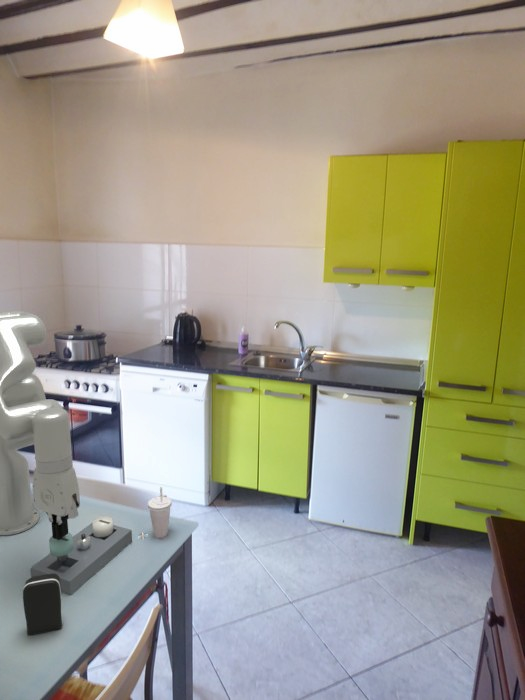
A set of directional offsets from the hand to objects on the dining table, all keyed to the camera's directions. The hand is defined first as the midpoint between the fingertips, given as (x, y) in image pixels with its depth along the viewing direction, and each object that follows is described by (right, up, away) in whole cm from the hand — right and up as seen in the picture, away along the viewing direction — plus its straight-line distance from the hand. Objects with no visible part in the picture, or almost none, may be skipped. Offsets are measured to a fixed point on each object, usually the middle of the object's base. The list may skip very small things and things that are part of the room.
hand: (60, 535), depth 111 cm
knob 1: (0, -6, +1) cm, 6 cm away
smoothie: (+19, -8, +20) cm, 29 cm away
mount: (+2, -9, +9) cm, 13 cm away
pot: (+3, -6, +8) cm, 10 cm away
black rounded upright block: (+2, -14, -12) cm, 19 cm away
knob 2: (+5, -7, +15) cm, 17 cm away
